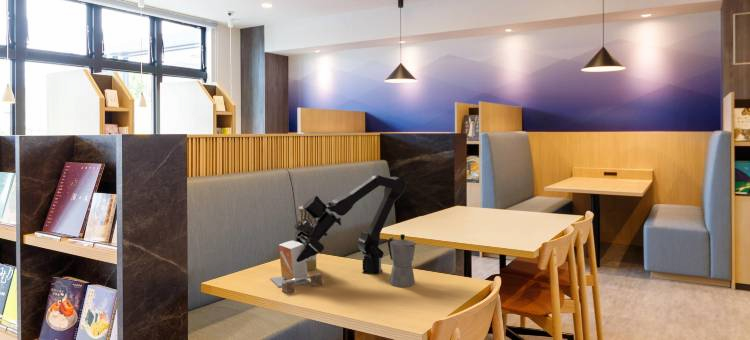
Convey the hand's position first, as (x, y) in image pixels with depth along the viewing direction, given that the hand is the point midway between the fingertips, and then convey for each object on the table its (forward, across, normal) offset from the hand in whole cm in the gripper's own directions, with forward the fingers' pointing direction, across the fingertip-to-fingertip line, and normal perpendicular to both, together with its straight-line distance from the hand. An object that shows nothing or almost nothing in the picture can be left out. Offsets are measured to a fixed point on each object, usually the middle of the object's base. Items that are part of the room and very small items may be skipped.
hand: (293, 258), depth 198 cm
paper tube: (-1, -14, +13) cm, 19 cm away
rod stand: (+6, +10, +6) cm, 13 cm away
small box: (+5, 0, +6) cm, 8 cm away
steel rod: (+4, +10, +4) cm, 11 cm away
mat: (+7, 0, +5) cm, 8 cm away
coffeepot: (-18, +18, +31) cm, 40 cm away
